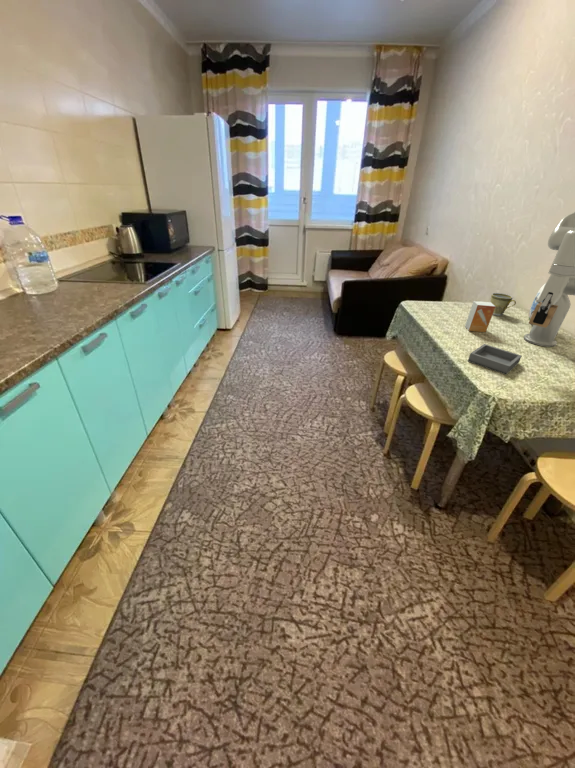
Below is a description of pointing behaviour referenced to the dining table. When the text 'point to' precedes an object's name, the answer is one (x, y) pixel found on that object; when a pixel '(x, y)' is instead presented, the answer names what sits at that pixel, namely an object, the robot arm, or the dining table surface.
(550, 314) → the wooden block
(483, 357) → the tray
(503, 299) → the ceramic cup
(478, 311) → the small box
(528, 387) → the dining table surface
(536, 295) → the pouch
